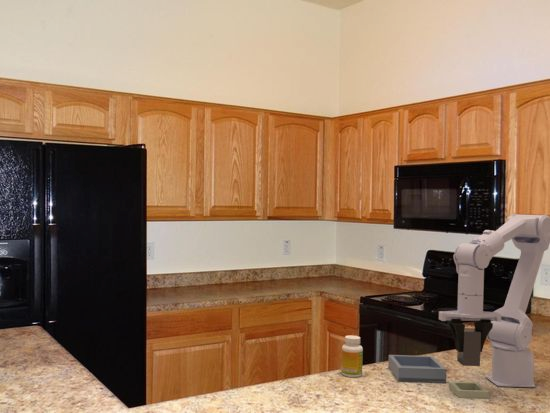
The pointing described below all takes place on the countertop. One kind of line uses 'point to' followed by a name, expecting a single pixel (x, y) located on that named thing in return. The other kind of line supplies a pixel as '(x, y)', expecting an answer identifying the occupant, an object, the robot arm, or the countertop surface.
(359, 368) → the supplement bottle
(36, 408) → the countertop surface
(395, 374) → the tray
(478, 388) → the holder
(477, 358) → the dark wooden post
